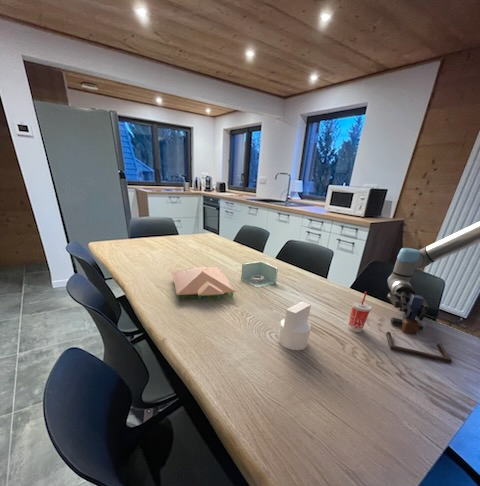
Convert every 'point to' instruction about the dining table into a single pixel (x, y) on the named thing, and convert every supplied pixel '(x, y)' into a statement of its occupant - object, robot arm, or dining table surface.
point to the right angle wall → (259, 273)
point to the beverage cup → (359, 315)
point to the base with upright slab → (295, 327)
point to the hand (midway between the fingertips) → (416, 316)
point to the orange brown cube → (410, 326)
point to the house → (202, 282)
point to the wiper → (415, 306)
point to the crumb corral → (443, 358)
